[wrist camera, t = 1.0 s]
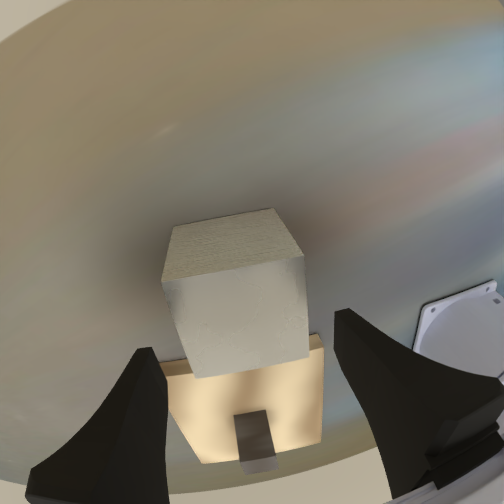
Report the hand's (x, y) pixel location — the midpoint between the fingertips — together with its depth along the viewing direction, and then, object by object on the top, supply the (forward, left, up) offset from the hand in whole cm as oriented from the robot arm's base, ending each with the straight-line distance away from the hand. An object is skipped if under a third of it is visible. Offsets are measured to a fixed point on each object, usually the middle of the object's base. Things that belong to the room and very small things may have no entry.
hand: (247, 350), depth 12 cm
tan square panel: (+1, +14, -8) cm, 16 cm away
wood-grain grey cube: (0, 0, -8) cm, 8 cm away
